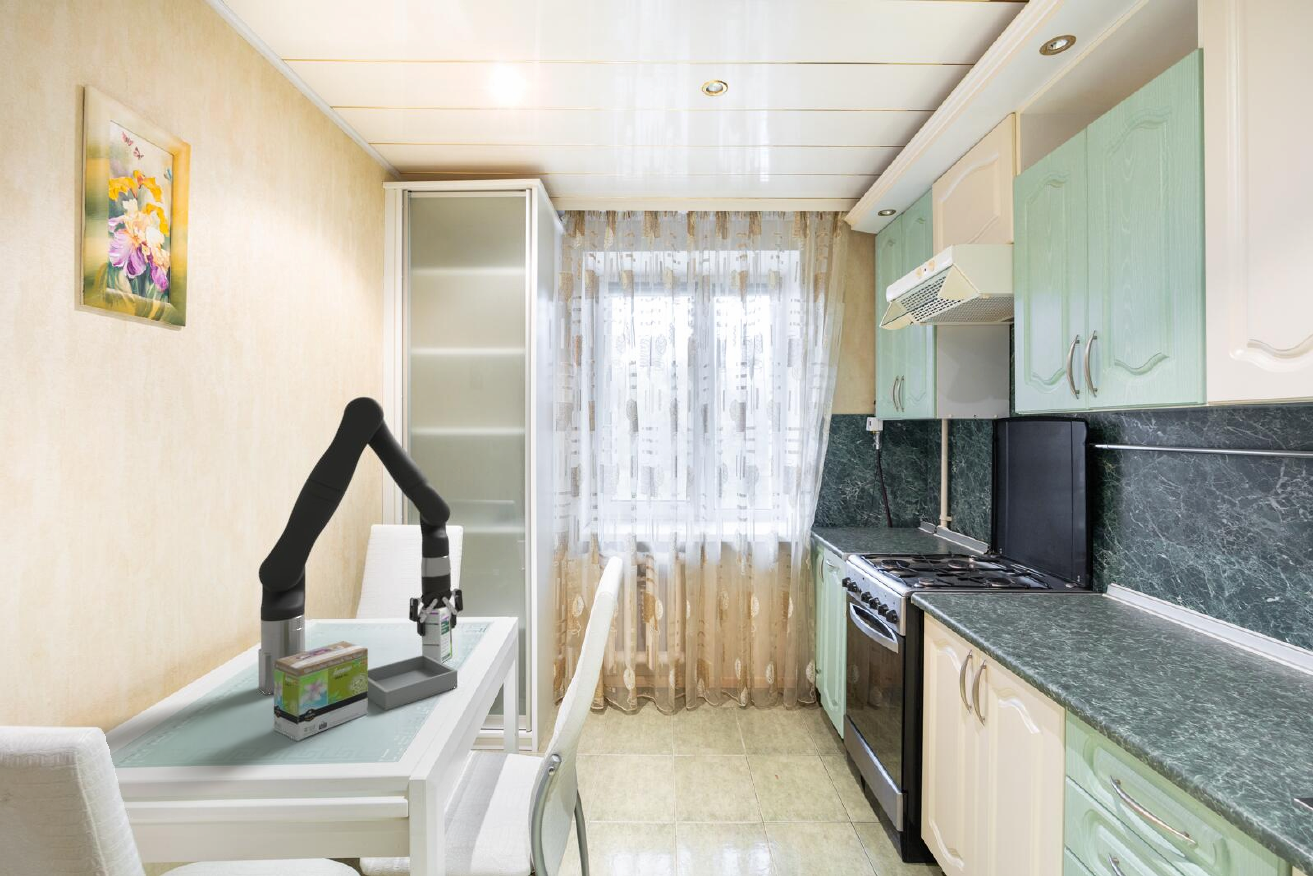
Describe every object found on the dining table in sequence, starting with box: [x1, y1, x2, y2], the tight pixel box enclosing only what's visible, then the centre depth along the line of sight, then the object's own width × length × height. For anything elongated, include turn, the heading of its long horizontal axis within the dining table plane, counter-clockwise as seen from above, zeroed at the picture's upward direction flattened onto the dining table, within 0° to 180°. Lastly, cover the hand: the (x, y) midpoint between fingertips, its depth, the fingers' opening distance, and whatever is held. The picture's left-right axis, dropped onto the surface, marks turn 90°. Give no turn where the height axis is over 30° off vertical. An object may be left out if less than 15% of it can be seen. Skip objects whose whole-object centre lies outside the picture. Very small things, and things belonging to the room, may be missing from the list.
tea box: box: [273, 640, 369, 742], centre depth 129 cm, size 15×10×15 cm, turn 148°
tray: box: [367, 654, 458, 711], centre depth 146 cm, size 17×17×4 cm
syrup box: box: [421, 606, 453, 664], centre depth 166 cm, size 6×6×14 cm
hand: (437, 631), depth 166 cm, fingers open, 8 cm apart
